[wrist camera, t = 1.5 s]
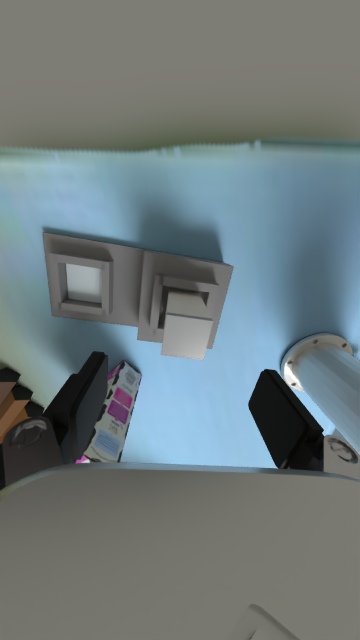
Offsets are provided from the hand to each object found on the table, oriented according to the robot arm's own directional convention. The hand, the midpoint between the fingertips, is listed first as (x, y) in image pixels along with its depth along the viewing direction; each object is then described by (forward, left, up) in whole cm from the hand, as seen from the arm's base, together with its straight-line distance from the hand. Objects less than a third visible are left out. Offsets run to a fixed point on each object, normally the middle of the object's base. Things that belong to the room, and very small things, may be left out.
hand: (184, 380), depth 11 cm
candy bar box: (+9, +19, -20) cm, 29 cm away
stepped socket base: (+6, 0, -20) cm, 21 cm away
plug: (-1, 0, -15) cm, 15 cm away
